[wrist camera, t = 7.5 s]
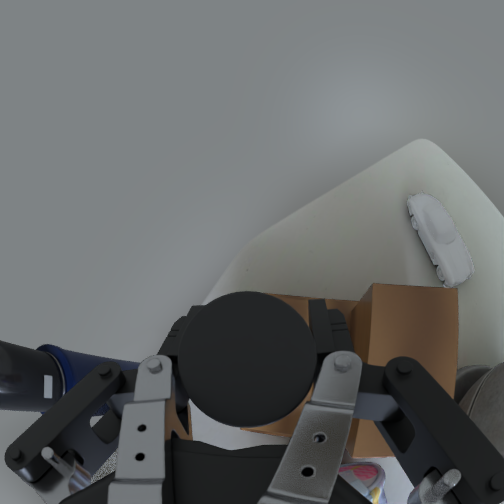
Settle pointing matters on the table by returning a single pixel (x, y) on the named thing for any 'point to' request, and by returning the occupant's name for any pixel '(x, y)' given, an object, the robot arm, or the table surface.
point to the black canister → (247, 359)
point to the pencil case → (365, 480)
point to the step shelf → (388, 346)
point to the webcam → (483, 399)
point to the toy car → (440, 239)
